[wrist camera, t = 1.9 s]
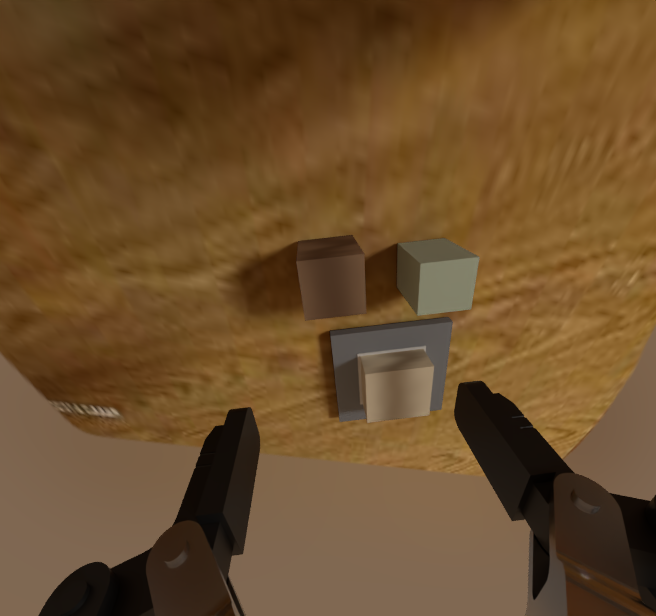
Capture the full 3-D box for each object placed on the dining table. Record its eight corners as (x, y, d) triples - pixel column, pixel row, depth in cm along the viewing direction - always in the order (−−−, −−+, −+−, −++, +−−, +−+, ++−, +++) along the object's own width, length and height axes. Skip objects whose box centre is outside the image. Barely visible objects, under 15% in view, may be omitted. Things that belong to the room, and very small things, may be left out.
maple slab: (423, 348, 31) (434, 366, 28) (419, 395, 34) (429, 415, 31) (360, 356, 31) (365, 374, 28) (362, 402, 34) (367, 422, 31)
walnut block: (352, 235, 26) (364, 253, 20) (354, 284, 28) (366, 313, 23) (298, 241, 26) (296, 261, 20) (305, 290, 28) (305, 320, 23)
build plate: (448, 317, 30) (453, 322, 29) (437, 403, 36) (441, 410, 36) (329, 330, 30) (330, 336, 29) (339, 415, 36) (339, 422, 35)
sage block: (444, 238, 26) (479, 256, 21) (440, 282, 29) (471, 309, 23) (397, 243, 26) (420, 263, 21) (396, 287, 28) (417, 315, 23)
